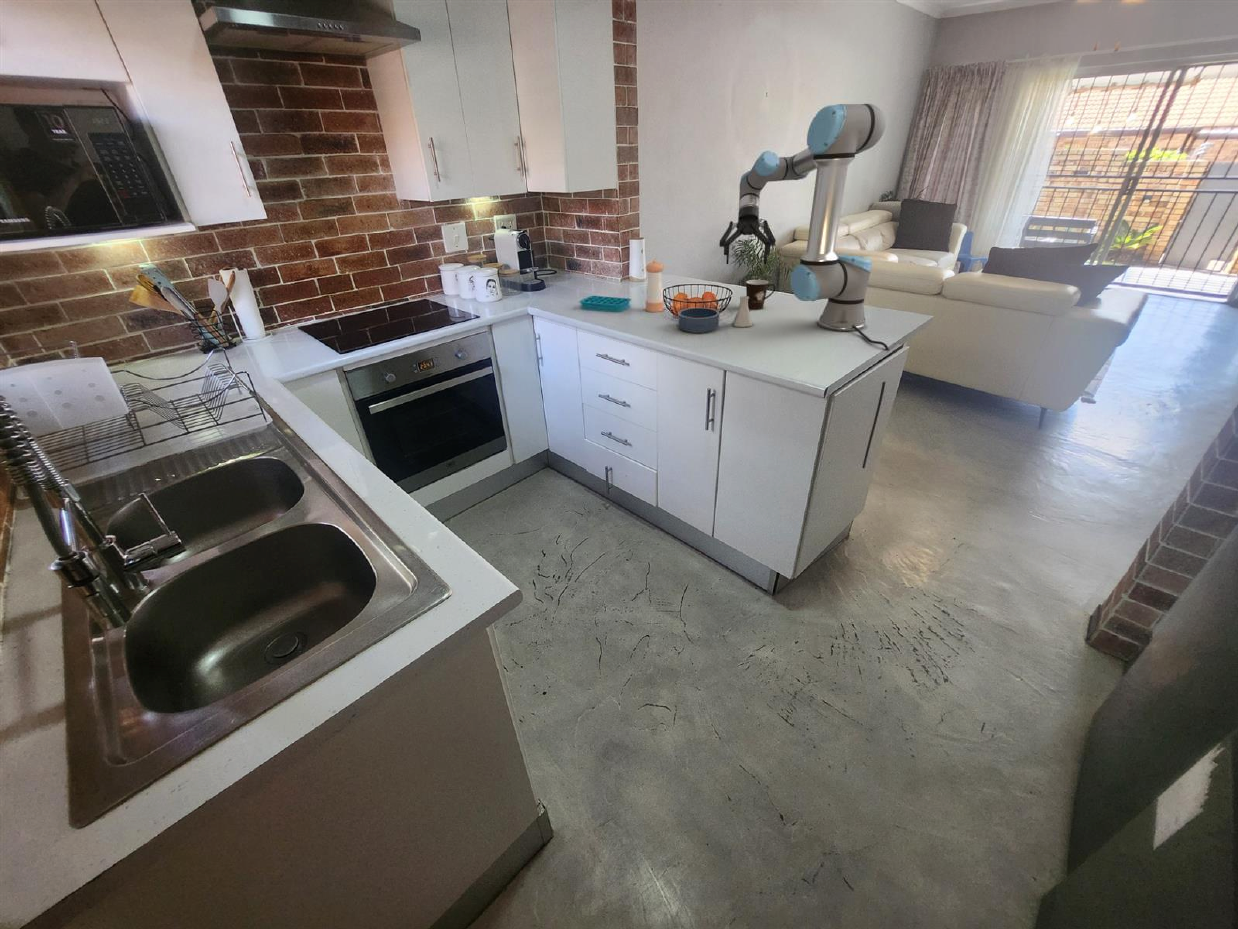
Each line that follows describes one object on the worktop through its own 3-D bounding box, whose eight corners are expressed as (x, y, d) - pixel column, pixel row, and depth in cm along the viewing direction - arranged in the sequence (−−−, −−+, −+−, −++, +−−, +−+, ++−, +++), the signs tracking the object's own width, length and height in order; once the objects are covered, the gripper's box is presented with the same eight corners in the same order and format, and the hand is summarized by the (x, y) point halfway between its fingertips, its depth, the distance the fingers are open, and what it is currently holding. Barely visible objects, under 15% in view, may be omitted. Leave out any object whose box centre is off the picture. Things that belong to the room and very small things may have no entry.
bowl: (725, 330, 181) (726, 314, 178) (689, 336, 177) (689, 320, 174) (706, 320, 193) (707, 305, 190) (671, 325, 189) (671, 310, 186)
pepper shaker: (656, 306, 213) (656, 258, 203) (667, 309, 208) (667, 260, 198) (642, 309, 210) (641, 260, 200) (652, 313, 205) (652, 263, 195)
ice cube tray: (592, 302, 224) (591, 295, 223) (632, 305, 216) (632, 298, 214) (578, 308, 216) (577, 301, 214) (619, 312, 207) (619, 305, 206)
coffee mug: (743, 310, 202) (745, 284, 197) (744, 304, 209) (746, 279, 204) (773, 310, 200) (776, 284, 194) (773, 305, 207) (776, 279, 201)
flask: (752, 327, 182) (755, 299, 177) (732, 327, 184) (734, 299, 178) (752, 321, 188) (754, 294, 183) (732, 321, 190) (734, 294, 184)
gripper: (781, 217, 191) (779, 267, 187) (714, 219, 196) (711, 268, 191) (784, 203, 184) (783, 254, 180) (715, 205, 189) (712, 255, 184)
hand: (746, 261), depth 185 cm, fingers open, 13 cm apart
